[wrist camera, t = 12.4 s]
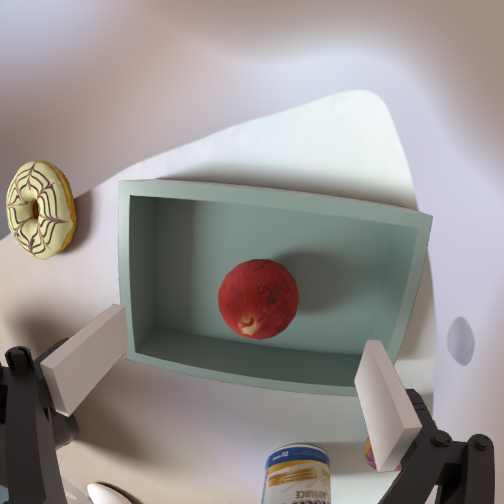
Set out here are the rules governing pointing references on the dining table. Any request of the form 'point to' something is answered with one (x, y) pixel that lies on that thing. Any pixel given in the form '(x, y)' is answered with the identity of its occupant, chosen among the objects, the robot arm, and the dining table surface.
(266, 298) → the red round fruit
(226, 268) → the bin
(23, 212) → the decorated donut
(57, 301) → the dining table surface
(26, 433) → the robot arm
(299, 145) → the dining table surface
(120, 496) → the flower in vase
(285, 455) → the beverage bottle
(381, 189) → the dining table surface
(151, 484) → the dining table surface
